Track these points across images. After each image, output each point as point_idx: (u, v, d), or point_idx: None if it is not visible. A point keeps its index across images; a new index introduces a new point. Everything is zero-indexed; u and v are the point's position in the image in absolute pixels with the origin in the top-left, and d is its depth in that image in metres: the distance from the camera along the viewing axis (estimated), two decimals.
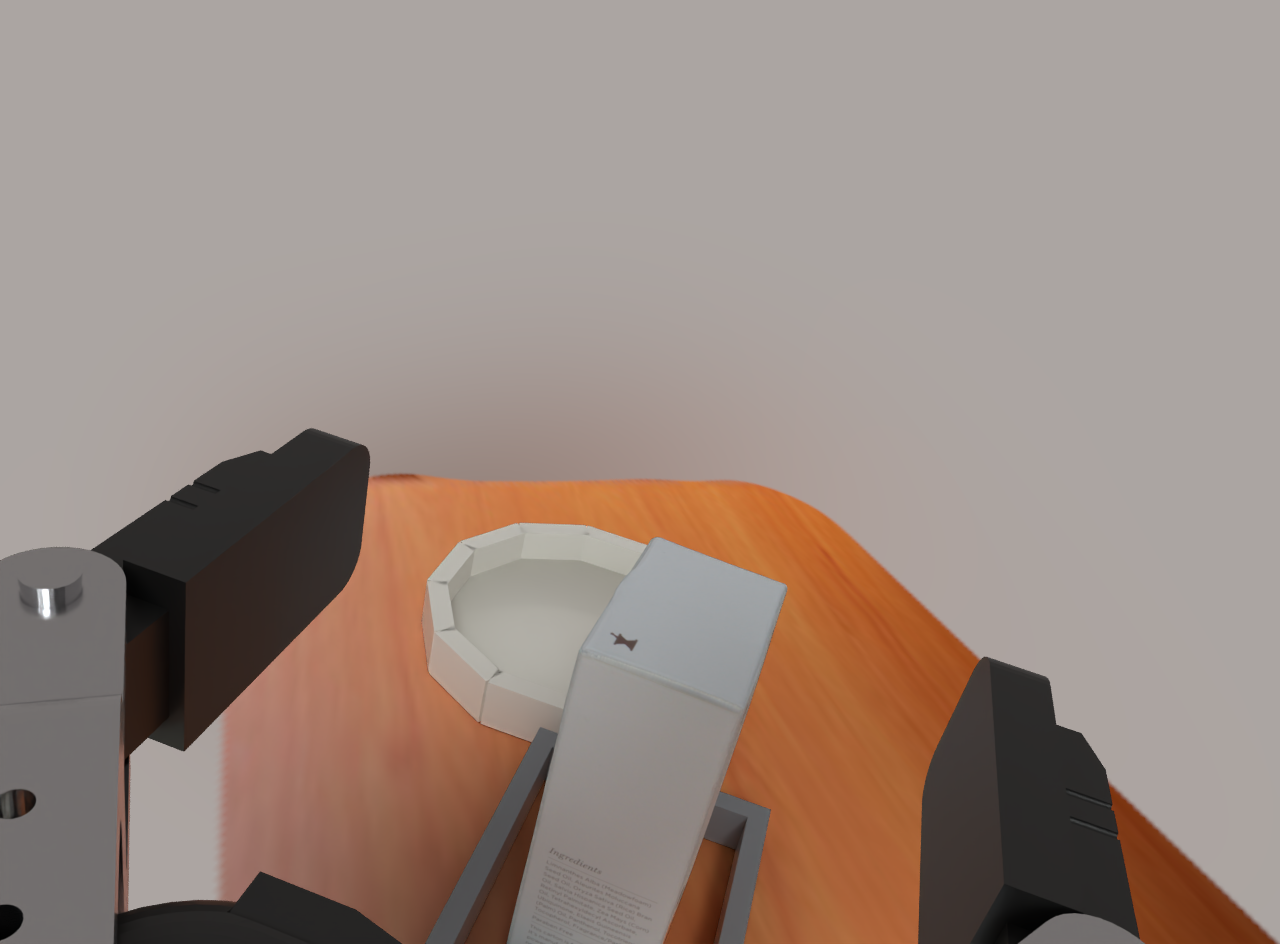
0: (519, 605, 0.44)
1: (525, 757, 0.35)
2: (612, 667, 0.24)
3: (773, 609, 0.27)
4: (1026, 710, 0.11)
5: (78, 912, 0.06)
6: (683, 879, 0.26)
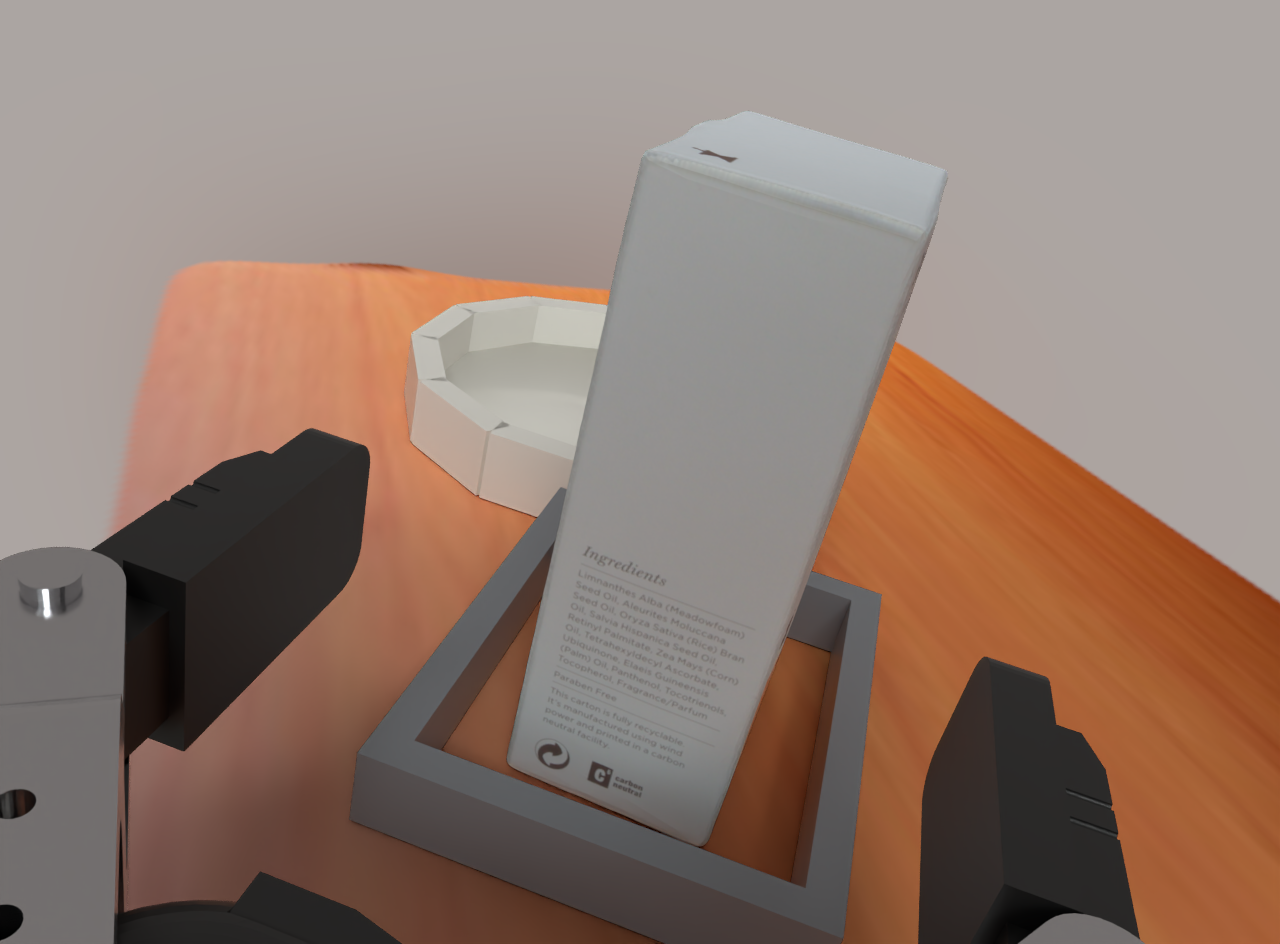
0: (531, 383, 0.34)
1: (540, 515, 0.25)
2: (699, 177, 0.14)
3: (937, 178, 0.17)
4: (1026, 710, 0.11)
5: (79, 913, 0.06)
6: (800, 583, 0.16)
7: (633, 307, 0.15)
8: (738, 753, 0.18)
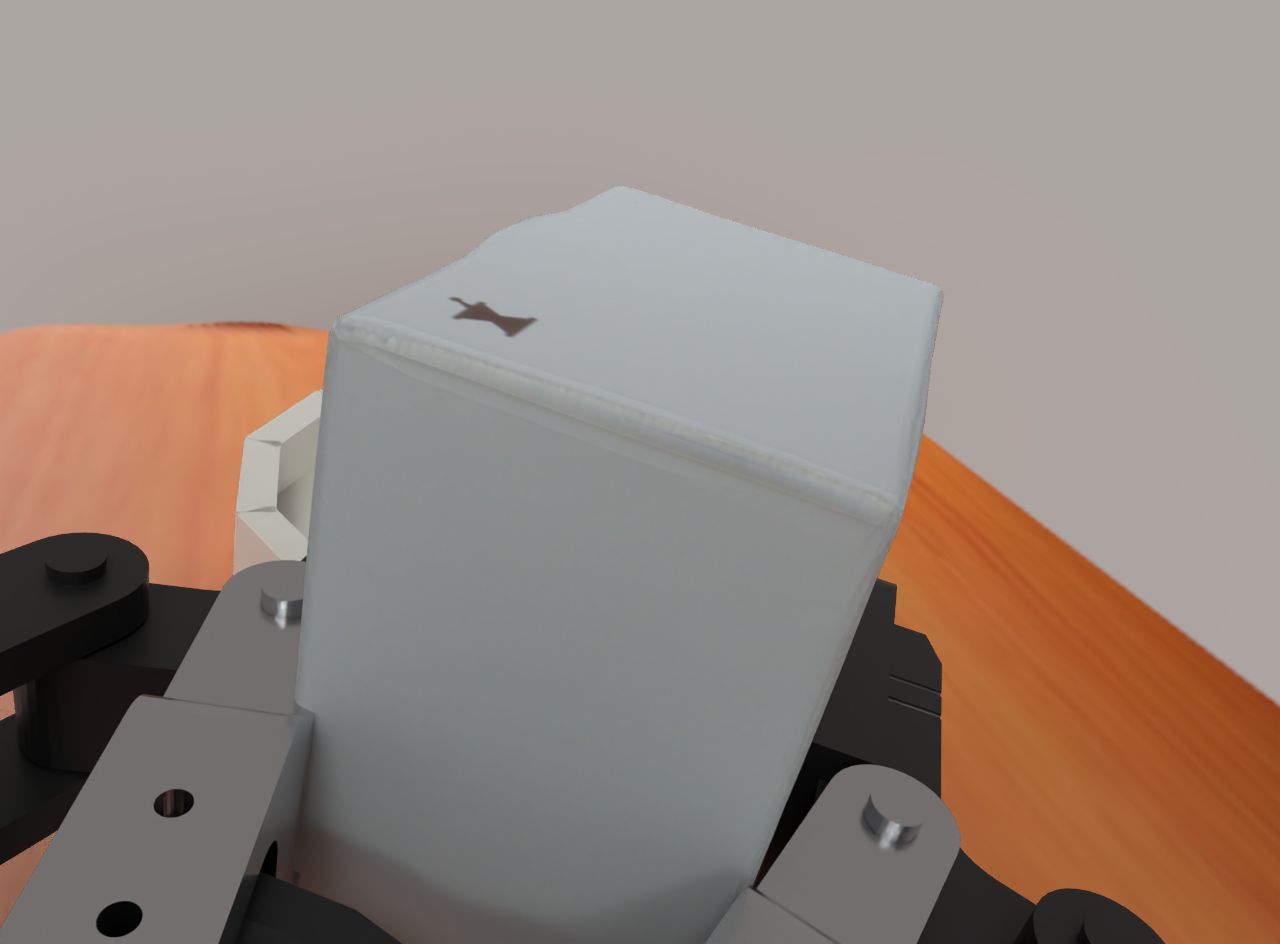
0: None
1: None
2: (437, 376, 0.07)
3: (926, 315, 0.10)
4: (868, 609, 0.12)
5: (189, 928, 0.06)
6: None
7: (345, 598, 0.08)
8: None
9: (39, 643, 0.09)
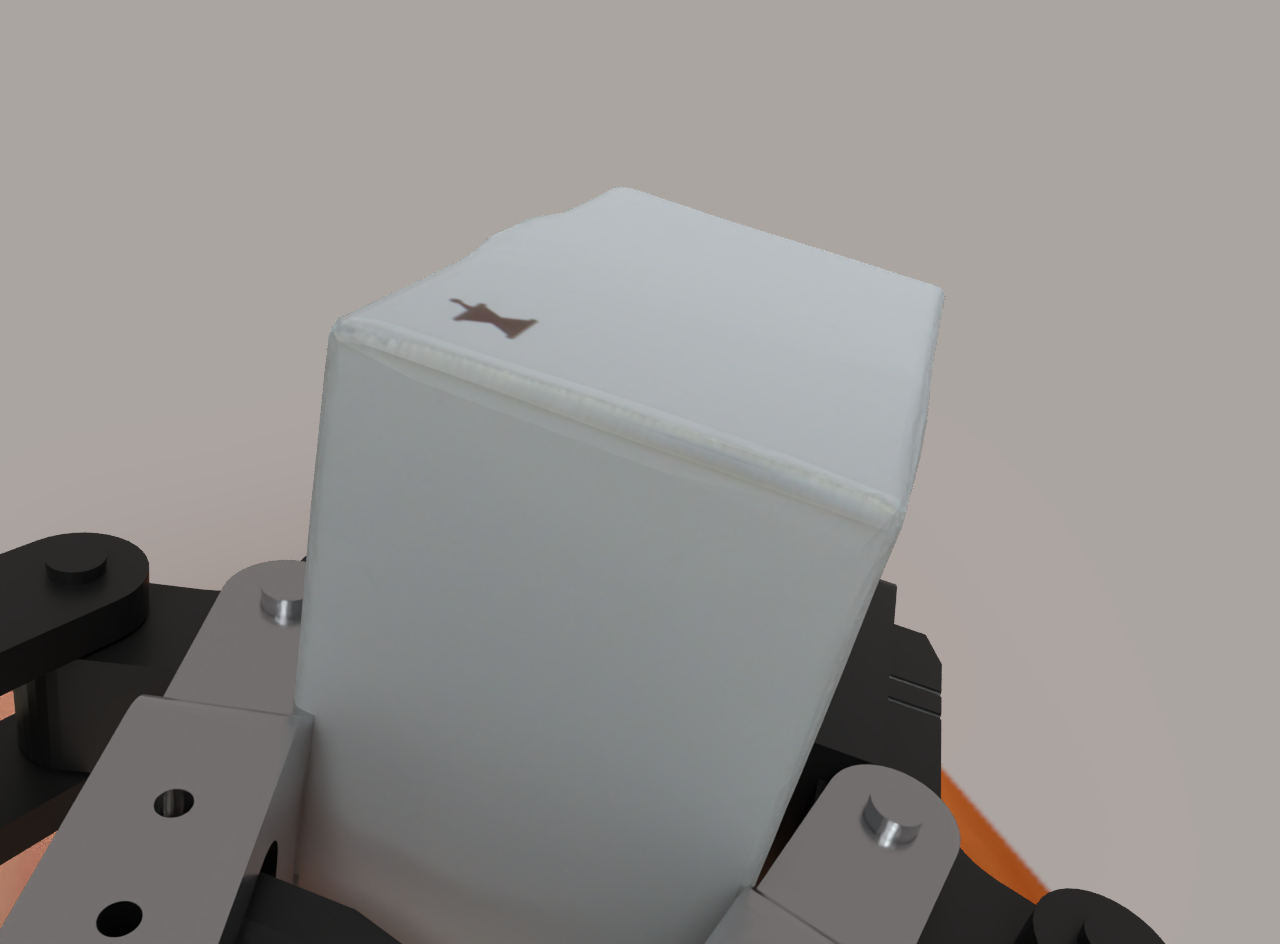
0: None
1: None
2: (438, 379, 0.07)
3: (926, 317, 0.10)
4: (868, 609, 0.12)
5: (190, 929, 0.06)
6: None
7: (345, 600, 0.08)
8: None
9: (40, 643, 0.09)
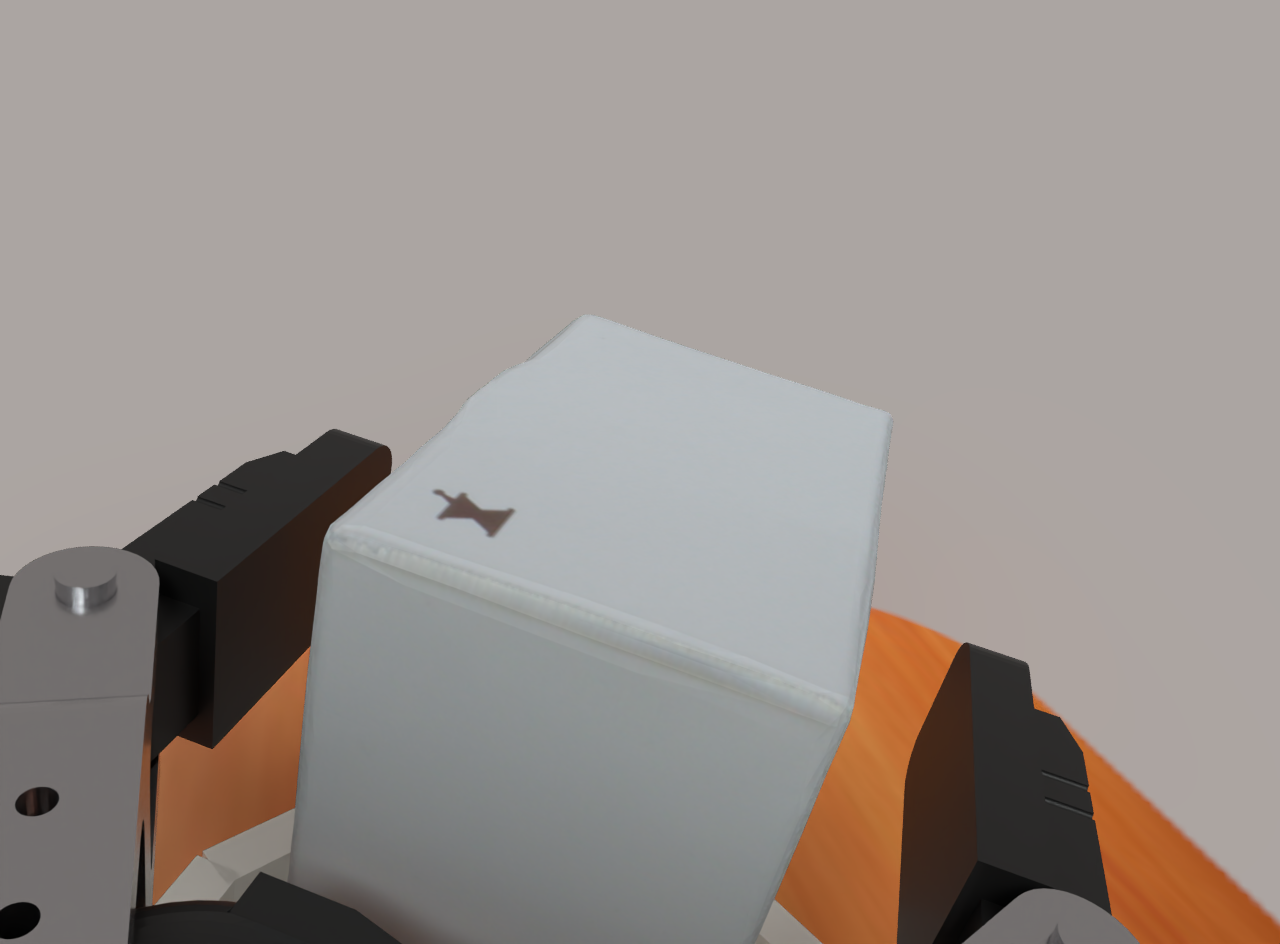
0: None
1: None
2: (426, 584, 0.08)
3: (875, 456, 0.11)
4: (1004, 694, 0.11)
5: (94, 913, 0.06)
6: None
7: (340, 767, 0.09)
8: None
9: None
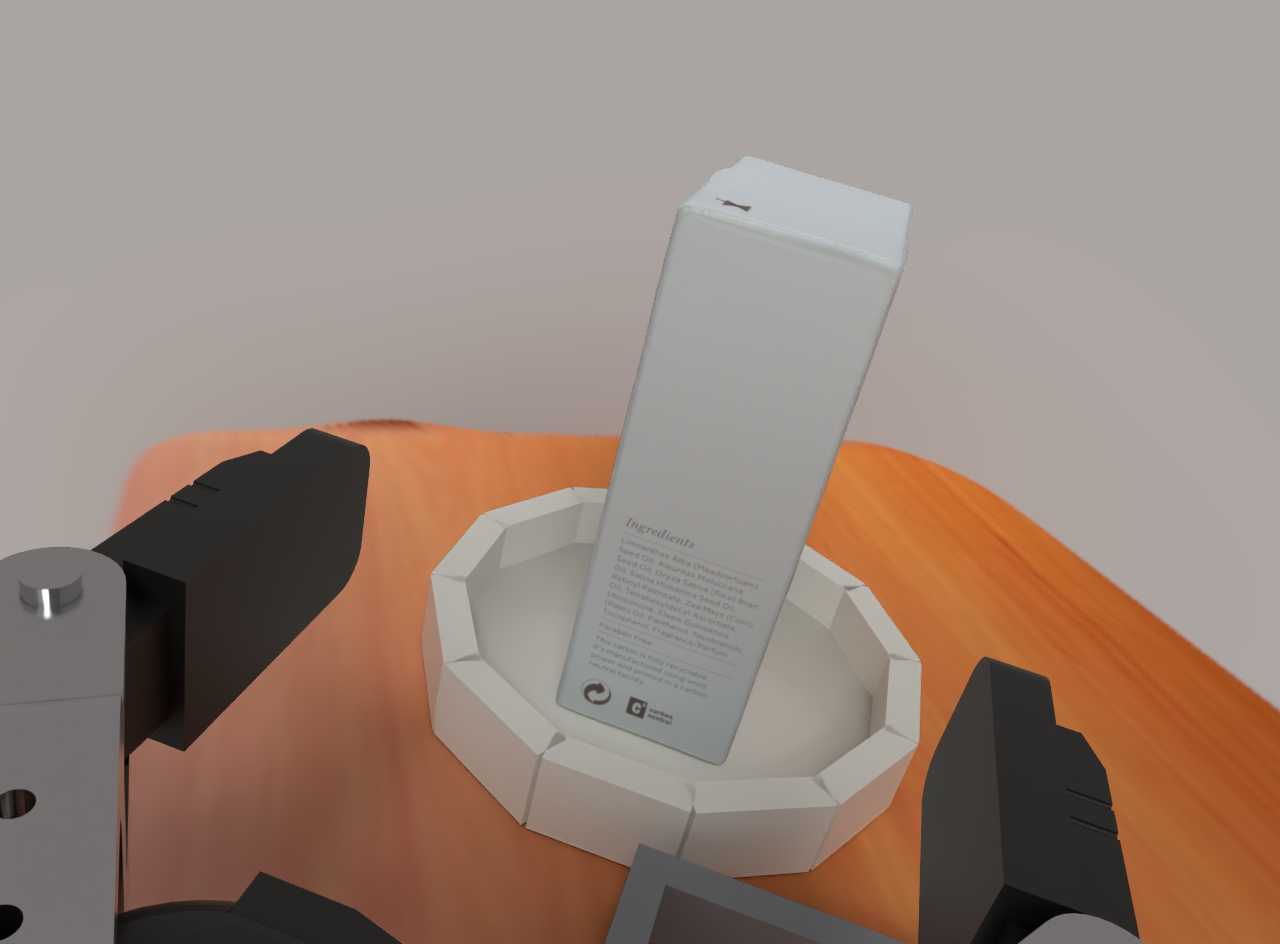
0: None
1: (619, 909, 0.18)
2: (724, 224, 0.18)
3: (905, 215, 0.22)
4: (1026, 710, 0.11)
5: (80, 912, 0.06)
6: (803, 543, 0.20)
7: (670, 325, 0.19)
8: (752, 684, 0.22)
9: None
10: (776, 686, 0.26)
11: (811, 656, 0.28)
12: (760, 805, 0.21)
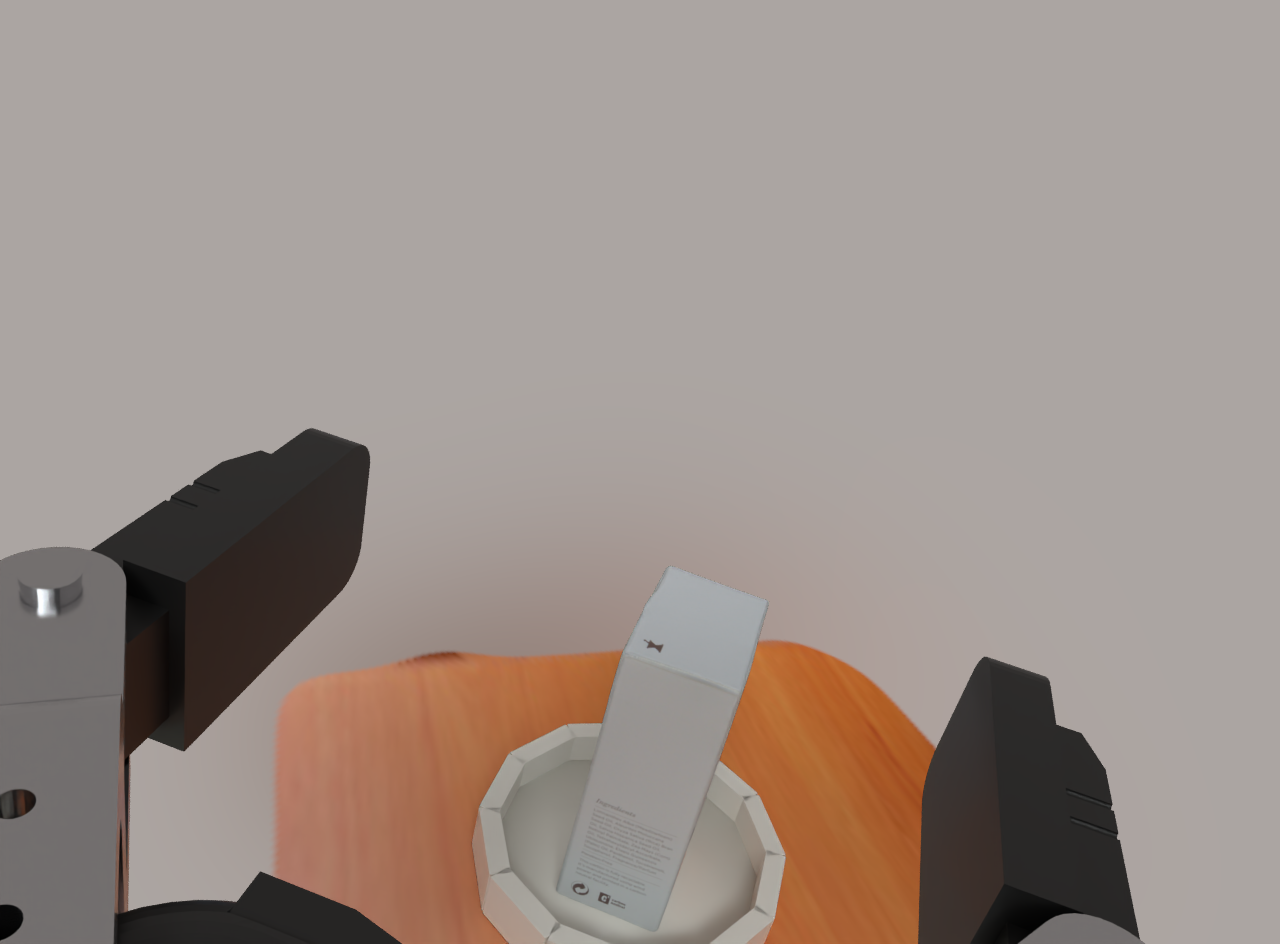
0: (571, 822, 0.43)
1: None
2: (646, 664, 0.34)
3: (759, 619, 0.37)
4: (1026, 710, 0.11)
5: (80, 912, 0.06)
6: (696, 818, 0.36)
7: (619, 707, 0.35)
8: (671, 889, 0.38)
9: None
10: (695, 870, 0.42)
11: (720, 845, 0.43)
12: None
